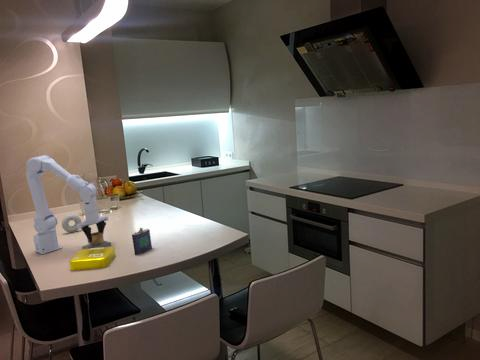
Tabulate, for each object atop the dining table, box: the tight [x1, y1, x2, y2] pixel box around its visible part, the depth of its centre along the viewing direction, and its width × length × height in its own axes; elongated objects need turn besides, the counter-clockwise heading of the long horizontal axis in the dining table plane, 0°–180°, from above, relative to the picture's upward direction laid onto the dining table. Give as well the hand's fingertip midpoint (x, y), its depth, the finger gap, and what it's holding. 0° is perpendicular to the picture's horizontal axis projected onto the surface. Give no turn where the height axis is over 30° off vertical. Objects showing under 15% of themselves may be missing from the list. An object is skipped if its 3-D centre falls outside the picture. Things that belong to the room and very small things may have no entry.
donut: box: [61, 213, 83, 233], centre depth 217 cm, size 10×4×10 cm, turn 121°
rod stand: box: [81, 240, 112, 249], centre depth 188 cm, size 10×8×6 cm
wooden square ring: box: [87, 231, 105, 245], centre depth 188 cm, size 5×5×4 cm
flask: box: [131, 227, 153, 256], centre depth 177 cm, size 9×3×11 cm, turn 144°
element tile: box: [68, 245, 116, 272], centre depth 170 cm, size 15×15×5 cm
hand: (95, 239), depth 188 cm, fingers closed on wooden square ring, 5 cm apart
